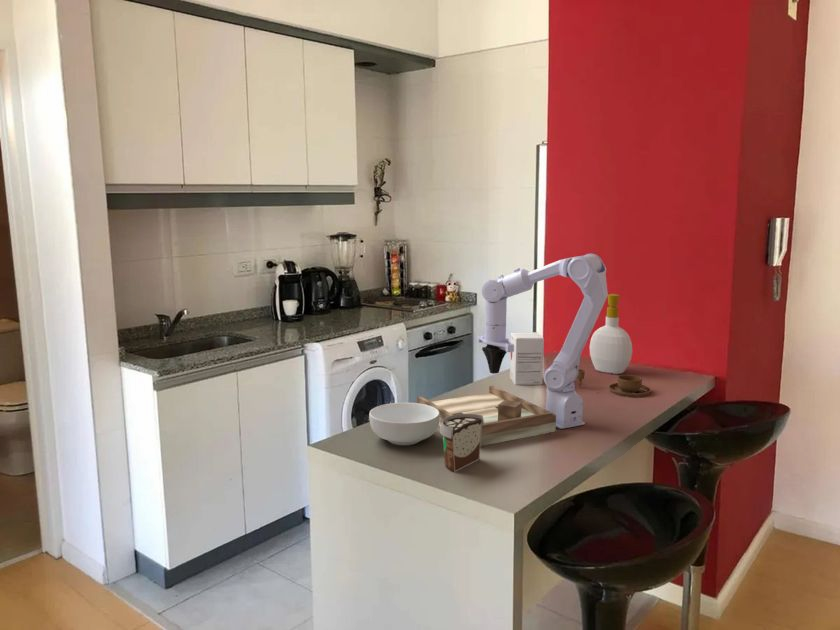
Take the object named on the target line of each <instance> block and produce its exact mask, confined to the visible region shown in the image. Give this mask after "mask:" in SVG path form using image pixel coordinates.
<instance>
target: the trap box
mask: <svg viewBox="0 0 840 630" xmlns="http://www.w3.org/2000/svg"><path fill="white" fill-rule="evenodd" d="M504 400H509V401H516V402H521V417H518V418H513V419H507V420H501V421H498V404H500V403H501V402H502V401H504ZM416 401H417V402H416V403H420V404H425V405H429V406H432V407H434V408H436V409H437V410H438V411H439V414H440V418H439V424H438V427H439V426H441V423H442V421H443V419H444V418H446V417H448V416H451V415H456V414H477V415H482V416H483V420H484V424H482V434H481V446H480V447H483V446H487V445H492V444H493V445H494V444H498V443H503V442H508V441H513V440H519V439H523V438H529V437H530V438H531V437H535V436H540V434H541V435H545V434H549V433H550V432H551V433H555V432H556V427H555V426H556V414H554V413H552V412H549V411H547V410H546V408H543V407H541V406H538V405H537V404H534V403H531V402H529V401H528V400H525V399H523V398H520V397H518V396H517V395H514V394H512V393H509V392H507V391H505V390H503V389H501V388H498V387H496V386H494V385H489V387H488V392H485V393H479V394H478V393H477V394H472V395H466V396H458V397H454V398H447V399H446V398H445V399H441V400H440V399H438V400H433V401H430V400H428V399H427V398H425V397H423V396H421V395H419V396H417V398H416Z"/></svg>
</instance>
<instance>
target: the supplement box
mask: <svg viewBox="0 0 840 630" xmlns="http://www.w3.org/2000/svg"><path fill="white" fill-rule="evenodd" d="M510 343H511V344H514V352H509V354H510V356H509V358H510V360H509V363H510V364H509V378H510V380H511V381H512V382H513V384H514V385H515V386H519V385H520V386H521V385H523V386H524V385H525V386H526V385H528V386H529V385H543V382H544V351H545V350H544V349H545V348H544V347H545V339H544V337H543V336H542V335H541V334H540V333H538V332H535V331H533V332H531V331H530V332H511V333H510Z"/></svg>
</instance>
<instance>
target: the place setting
mask: <svg viewBox="0 0 840 630" xmlns="http://www.w3.org/2000/svg"><path fill="white" fill-rule="evenodd" d="M585 374H586V372H585V369H578V377H577V378H576V380H577V379H578V383H577V384H578V387H579V388H578V389H582V388H581V387H582V385H583V382H582V380H584V379H585ZM642 383H643V378H642V377H640V376H638V375H633V374H621V375H620V374H619V375H618V376H617V382H614V383H611V384H609V385H608V390H609V392H610V393H612V394H613V393H614V395H616V396H619V397H626V396H628V398H642V396H643V397H646V396H648V395H649V394H650V392H651V388H650V387H649V386H646V385H644V384H642ZM615 387H617V388H619V389H620V390H621V391H618V390H615V389H616V388H615ZM612 388H613V389H612ZM640 388H641V389H640ZM642 389H644V390H646V391H647V392H646V391H644V390H643V391H644V392H638V393H637V391H640V390H642ZM635 392H636V393H635ZM595 393H596V394H598V393H599V394H600V392H599V391H596V392H595Z"/></svg>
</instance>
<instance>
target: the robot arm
mask: <svg viewBox="0 0 840 630" xmlns="http://www.w3.org/2000/svg"><path fill="white" fill-rule="evenodd" d="M606 273H607V267H606V265H605V264H604V262H603V259H602V258H601V257H600V256H599V255H597V254H595V253H586V254H584V255H579V256H573V257H567V258H563V259H559V260H557V261H554V262H551V263H548V264H546V265H544V266H541V267H539V268H536V269H535V270H532V271H529V270H527V269H525V268H522V269H521V268H515V269H513V272H512V273H509V274H506V275H503V274H501V275H498V278H496V279H495V278H494V279H488V281H486V282H484V284H483V285H482V288H481V295H482V297H483V298H484V334H478V335H477V336H476V342H477V343H481V344H485V345H486V346H483V347H482V348H481V351H482V352H483V354H484V356H485V357H486V358H485V359H486V362H487V365H488V370H489V373H490V374H492V375H493V374H494V375H495V374H499V373H500V370H501V367H502V366H501V365H502V362H503V360H504V358H505V356H506V355H507V353H510V352H514V344H511V341H509V340H510V338H507V299H508V298H509V297H510V298H511V297H513V296H516V295H519V294H522V293H525V292H528V291H531V289H533V286H534V284H535V283H538V282H541V281H545V280H548V279H549V278H553V277H556V276H562V277H564V278H568V277H570V279H571V280H572V281H573V282H574V283H575V284H576V285H577V286H578V287H579V289H580V290H581V293H582V295H583V299H582V301H581V304H580V307H579V309H578V311H577V313H576V316H575V317H574V320H573V322H572V324H571V327H570V329H569V330H568V333H567V335H566V338H565V340H564V343H563V345H562V347H561V349H560V352H559V353H558V354H557V355H556V357H555V358H554V360H553V361H552V363H551V365H550V366H549V367H548V368H547V369H546V370H545V371H544V372H543V382H544V383H545V386H546V392H545V393H546V395H545V396H546V397H545V410H547V411H549V412H552V413H554V414H556V426H555V428H557V429H559V430H561V429H562V430H563V429H567V428H568V429H569V428H573V427H578V426H583V425H585V423H586V422H584V421H583V412H584V411H583V410H584V401H583V398H582V396H581V395H580V394H578V393H577V392H576V386H575V385H576V384H575V382H574V381H576V380H577V377H578V370H579V365H580V363H581V359H580V358H581V355H582V353H583V350H584V349H585V347H586V344H587V342H588V340H589V337H590V335H591V333H592V331H593V329H594V326H595V325H596V322H597V320H598V319H599V316H600V313H601V311H602V309H603V307H604V305H605V302H606V300H607V299H608V293H609V292H608V282H607V276H606Z"/></svg>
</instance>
